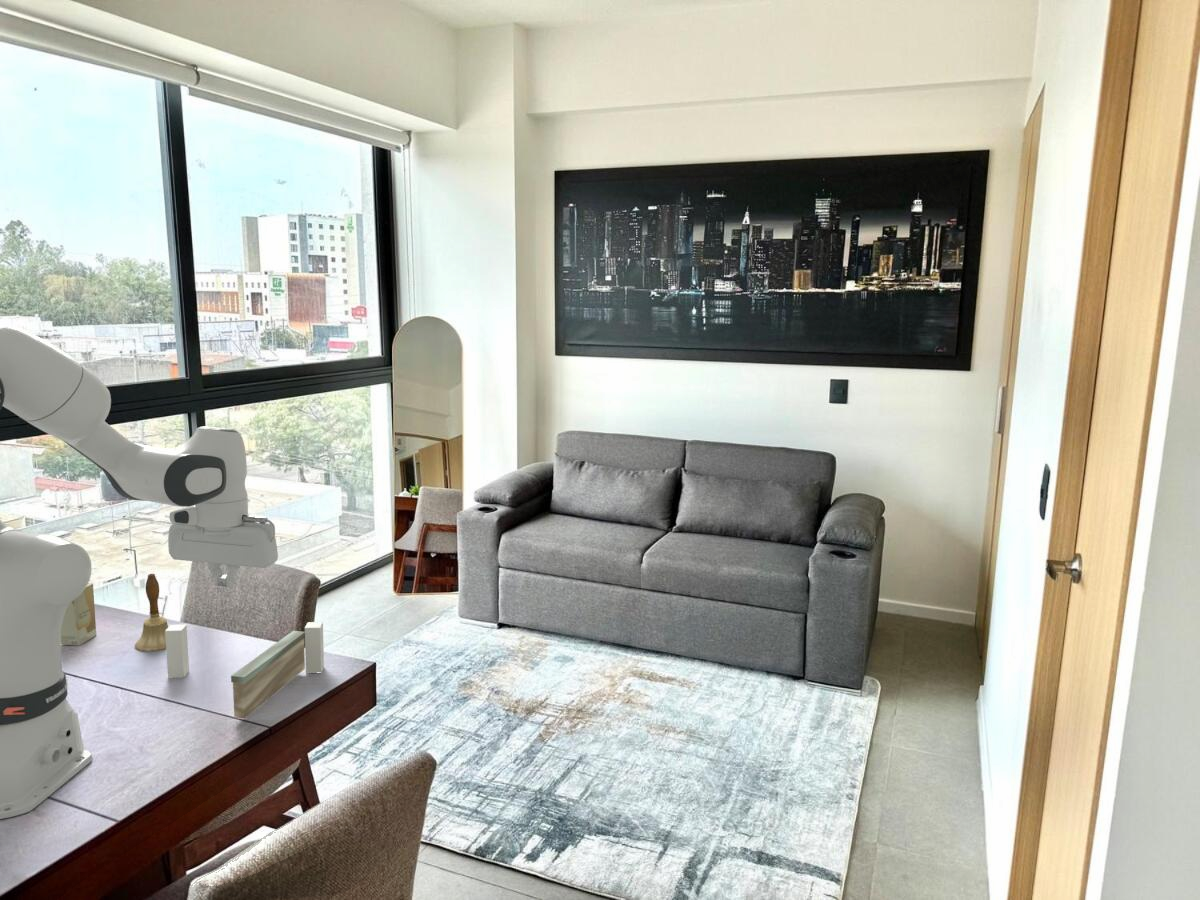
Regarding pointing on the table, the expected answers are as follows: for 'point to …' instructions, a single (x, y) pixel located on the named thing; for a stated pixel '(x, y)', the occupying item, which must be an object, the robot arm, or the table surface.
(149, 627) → the hand bell
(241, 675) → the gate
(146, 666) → the table surface
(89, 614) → the skincare box
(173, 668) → the gate posts
